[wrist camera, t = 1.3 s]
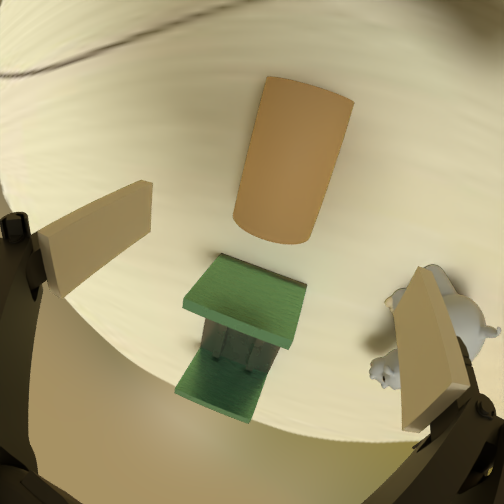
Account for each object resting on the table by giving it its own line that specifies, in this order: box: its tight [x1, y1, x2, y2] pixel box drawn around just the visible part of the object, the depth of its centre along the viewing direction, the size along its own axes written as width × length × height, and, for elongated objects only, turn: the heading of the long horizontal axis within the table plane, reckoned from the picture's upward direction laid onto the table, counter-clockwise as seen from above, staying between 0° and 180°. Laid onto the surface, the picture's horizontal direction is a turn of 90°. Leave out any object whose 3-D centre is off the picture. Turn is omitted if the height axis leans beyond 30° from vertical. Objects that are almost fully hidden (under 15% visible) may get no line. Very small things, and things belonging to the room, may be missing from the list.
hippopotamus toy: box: [369, 265, 501, 390], centre depth 25 cm, size 11×15×10 cm
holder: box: [175, 253, 307, 424], centre depth 32 cm, size 16×10×9 cm, turn 166°
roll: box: [233, 77, 354, 244], centre depth 23 cm, size 12×7×7 cm, turn 166°
